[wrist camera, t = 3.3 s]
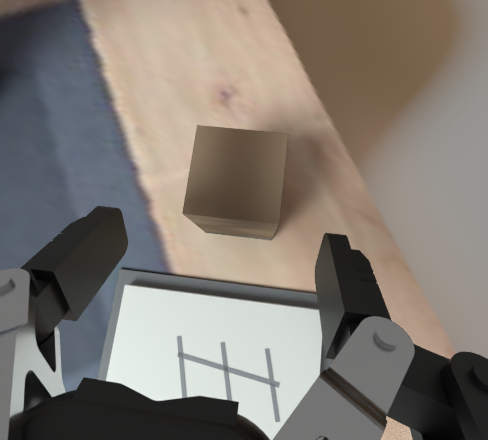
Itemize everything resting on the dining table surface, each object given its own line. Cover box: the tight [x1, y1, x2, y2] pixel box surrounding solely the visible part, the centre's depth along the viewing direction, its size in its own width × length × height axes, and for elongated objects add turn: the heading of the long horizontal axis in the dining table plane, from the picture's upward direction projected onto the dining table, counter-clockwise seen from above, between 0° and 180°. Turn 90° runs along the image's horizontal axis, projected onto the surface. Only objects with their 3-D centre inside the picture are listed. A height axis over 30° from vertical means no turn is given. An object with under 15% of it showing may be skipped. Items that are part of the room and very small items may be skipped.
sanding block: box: [182, 125, 288, 240], centre depth 18 cm, size 5×5×7 cm
